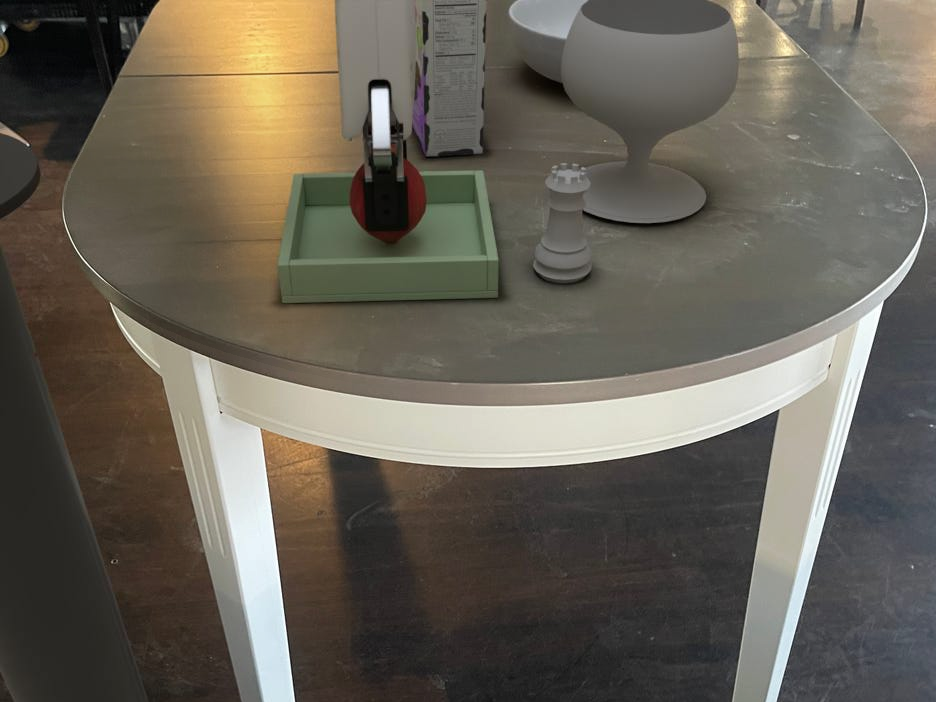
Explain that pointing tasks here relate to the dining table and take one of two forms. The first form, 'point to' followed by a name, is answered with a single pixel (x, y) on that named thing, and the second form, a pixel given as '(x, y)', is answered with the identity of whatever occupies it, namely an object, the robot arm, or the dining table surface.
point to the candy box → (450, 76)
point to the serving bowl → (542, 32)
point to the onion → (415, 201)
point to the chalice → (648, 94)
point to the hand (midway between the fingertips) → (387, 207)
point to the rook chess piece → (564, 228)
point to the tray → (388, 265)
